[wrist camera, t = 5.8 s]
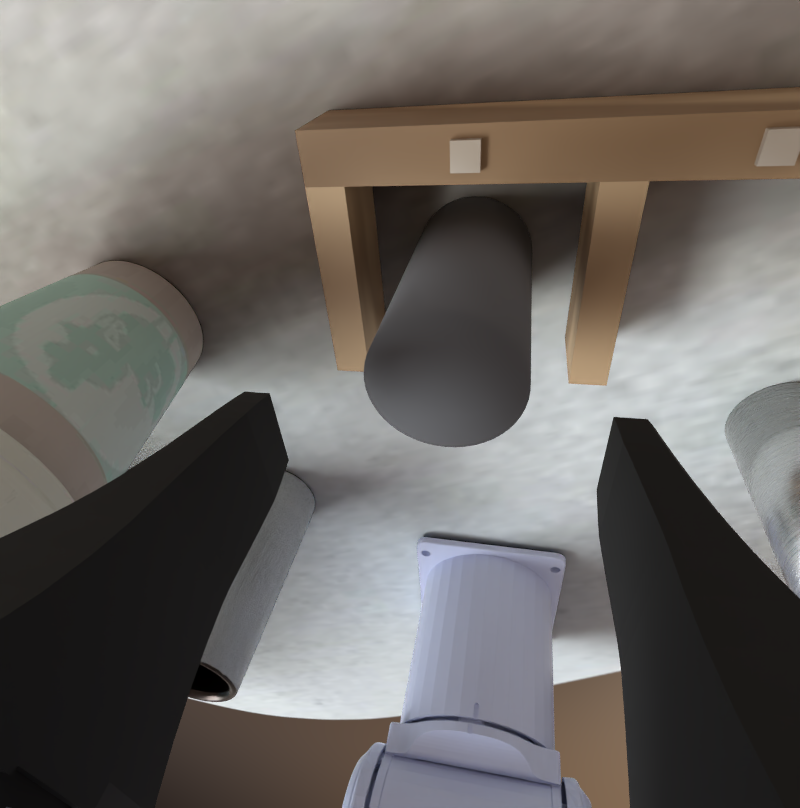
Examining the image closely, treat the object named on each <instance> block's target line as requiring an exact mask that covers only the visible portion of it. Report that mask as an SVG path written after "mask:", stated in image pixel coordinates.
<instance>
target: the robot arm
mask: <svg viewBox="0 0 800 808" xmlns="http://www.w3.org/2000/svg"><path fill="white" fill-rule="evenodd" d="M287 464H288V456H287V453H286V449H285V446H284V442H283V439H282V435H281V432H280V428H279V425H278V421H277V418H276V414H275V411H274V407H273V404H272V400H271V397H270V393H255V392H243V393H242V394H240V395H239V396H237V397H235V398H234V399H232V400H231V401H229V402H228V403H226V404H225V405H223V406H222V407H221V408H219V409H218V410H216V411H215V412H213V413H212V414H211V415H209V416H208V417H206V418H205V419H204V420H202V421H201V422H199V423H198V424H197V425H195V426H194V427H192V428H191V429H189V430H188V431H187V432H185V433H184V434H182V435H181V436H179V437H178V438H177V439H175V440H174V441H172V442H171V443H169V444H168V445H167V446H165V447H164V448H162V449H161V450H159V451H157V452H156V453H154V454H153V455H151V456H150V457H148V458H147V459H145V460H144V461H142V462H141V463H139V464H137V465H136V466H134V467H133V468H131V469H130V470H128V471H127V472H125V473H124V474H122V475H120V476H119V477H117V478H115V479H114V480H112V481H110V482H109V483H107V484H105V485H104V486H102V487H100V488H98V489H97V490H95V491H93V492H91V493H90V494H88V495H86V496H84V497H82V498H80V499H79V500H77V501H75V502H73V503H71V504H69V505H68V506H66V507H64V508H62V509H60V510H58V511H56V512H54V513H52V514H50V515H47V516H45V517H43V518H41V519H39V520H37V521H35V522H33V523H31V524H29V525H27V526H24V527H22V528H20V529H18V530H16V531H14V532H12V533H10V534H8V535H6V536H3V537H1V538H0V808H155V804H156V800H157V796H158V793H159V789H160V786H161V783H162V779H163V776H164V772H165V769H166V765H167V762H168V759H169V755H170V752H171V748H172V744H173V741H174V738H175V735H176V732H177V729H178V726H179V723H180V720H181V717H182V714H183V711H184V707H185V705H186V701H187V698H188V695H189V692H190V689H191V687H192V684H193V681H194V678H195V675H196V673H197V670H198V667H199V664H200V662H201V659H202V656H203V653H204V650H205V648H206V645H207V642H208V640H209V637H210V635H211V632H212V630H213V627H214V625H215V622H216V619H217V617H218V614H219V612H220V609H221V607H222V604H223V602H224V600H225V598H226V595H227V593H228V591H229V589H230V587H231V585H232V583H233V581H234V579H235V577H236V575H237V573H238V571H239V569H240V567H241V565H242V563H243V561H244V560H245V558H246V556H247V554H248V552H249V550H250V548H251V546H252V544H253V542H254V540H255V538H256V536H257V534H258V532H259V530H260V529H261V527H262V525H263V523H264V521H265V519H266V517H267V515H268V513H269V511H270V509H271V507H272V505H273V503H274V500H275V498H276V495H277V493H278V490H279V487H280V484H281V482H282V479H283V476H284V473H285V470H286V467H287ZM597 507H598V527H599V539H600V545H601V551H602V557H603V563H604V569H605V574H606V580H607V586H608V591H609V597H610V602H611V608H612V614H613V619H614V625H615V631H616V636H617V642H618V649H619V657H620V664H621V673H622V687H623V701H624V714H625V728H626V743H627V760H628V776H629V795H630V808H800V598H799V597H798V596H797V595H796V594H795V593H794V592H793V591H792V590H791V589H790V588H789V587H788V586H787V585H785V584H784V583H783V582H782V581H781V580H780V579H779V578H778V577H777V576H776V575H775V574H774V573H773V572H772V571H771V570H770V569H769V568H768V567H767V566H766V565H765V564H764V563H763V561H762V560H761V559H760V558H759V557H758V556H757V555H756V554H755V553H754V552H753V551H752V550H751V549H750V548H749V546H748V545H747V544H746V543H745V542H744V541H743V540H742V539H741V538H740V536H739V535H738V534H737V533H736V532H735V531H734V530H733V529H732V528H731V526H730V525H729V524H728V523H727V522H726V520H725V519H724V518H723V517H722V516H721V515H720V513H719V512H718V511H717V510H716V509H715V507H714V506H713V505H712V504H711V502H710V501H709V500H708V499H707V497H706V496H705V495H704V494H703V493H702V491H701V490H700V489H699V488H698V486H697V485H696V484H695V483H694V481H693V480H692V479H691V477H690V476H689V475H688V473H687V472H686V471H685V469H684V468H683V467H682V465H681V464H680V463H679V461H678V460H677V459H676V457H675V456H674V455H673V453H672V452H671V450H670V449H669V448H668V446H667V445H666V443H665V442H664V441H663V439H662V438H661V436H660V435H659V434H658V432H657V431H656V429H655V428H654V426H653V425H652V424H651V423H650V422H649V420H648V419H635V418H620V417H614V418H613V422H612V426H611V431H610V435H609V439H608V444H607V448H606V452H605V457H604V461H603V465H602V469H601V474H600V478H599V482H598V487H597ZM417 553H418V565H419V576H420V588H421V599H422V608H421V613H420V619H419V624H418V630H417V635H416V640H415V646H414V651H413V657H412V662H411V667H410V673H409V678H408V684H407V689H406V694H405V700H404V705H403V711H402V716H401V721H400V723H396V722H392V723H391V724H390V729H389V734H388V739H387V744H384V743H381V742H378V743H375V744H374V745H372V746H371V747H370V749H369V750H368V751H367V752H366V753H365V754H364V755H363V756H362V757H361V758H360V759H359V761H358V763H357V764H356V766H355V768H354V771H353V773H352V776H351V779H350V781H349V785H348V788H347V791H346V795H345V798H344V802H343V806H342V808H592V807H591V803H590V800H589V799H588V797H587V796H586V794H585V793H584V792H583V790H582V789H580V787H579V783H578V782H577V781H576V779H574V778H565V777H562V782H561V773H560V753H559V752H558V751H556V750H555V745H554V744H555V741H554V697H553V654H552V630H553V625H554V620H555V615H556V611H557V606H558V601H559V596H560V591H561V586H562V581H563V577H564V572H565V567H566V559H565V557H564V556H563V555H561V554H559V553H553V552H545V551H536V550H528V549H520V548H512V547H503V546H495V545H487V544H478V543H470V542H462V541H454V540H445V539H437V538H429V537H422V538H420V539H419V540H418V543H417Z"/></svg>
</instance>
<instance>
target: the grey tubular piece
mask: <svg viewBox="0 0 800 808" xmlns="http://www.w3.org/2000/svg"><path fill="white" fill-rule="evenodd" d="M314 508H315V499H314V496H313V494H312V492H311V491H310V489H309V488H308V487H307V485H306V484H305V483H304V482H302V481H301V480H300V479H299V478H297V477H296V476H294V475H292V474H290V473H288V472H286V471H285V473H284V476H283V479H282V482H281V484H280V487H279V490H278V493H277V495H276V498H275V500H274V503H273V505H272V507H271V509H270V511H269V513H268V515H267V517H266V519H265V521H264V523H263V525H262V527H261V529H260V530H259V532H258V534H257V536H256V538H255V540H254V542H253V544H252V546H251V548H250V550H249V552H248V554H247V556H246V558H245V560H244V561H243V563H242V565H241V567H240V569H239V571H238V573H237V575H236V577H235V579H234V581H233V583H232V585H231V587H230V589H229V591H228V593H227V595H226V598H225V600H224V602H223V604H222V607H221V609H220V612H219V614H218V617H217V619H216V622H215V625H214V627H213V630H212V632H211V635H210V637H209V640H208V642H207V645H206V648H205V650H204V653H203V656H202V659H201V662H200V664H199V667H198V670H197V673H196V675H195V678H194V681H193V684H192V687H191V689H190V692H189V695H188V697H190V698H194V699H198V700H203V701H210V702H223V701H227V700H230V699H232V698H233V697H235V695H236V694H237V692H238V690H239V688H240V685H241V683H242V680H243V678H244V676H245V673H246V671H247V669H248V666H249V664H250V662H251V659H252V657H253V654H254V652H255V650H256V647H257V645H258V643H259V640H260V638H261V635H262V633H263V631H264V628H265V626H266V624H267V621H268V619H269V617H270V614H271V612H272V609H273V607H274V605H275V602H276V600H277V598H278V595H279V593H280V590H281V588H282V586H283V583H284V581H285V579H286V576H287V574H288V572H289V569H290V567H291V564H292V562H293V560H294V557H295V555H296V553H297V550H298V548H299V545H300V543H301V541H302V538H303V536H304V534H305V531H306V529H307V527H308V524H309V522H310V519H311V517H312V514H313V511H314Z"/></svg>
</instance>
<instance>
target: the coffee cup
mask: <svg viewBox="0 0 800 808" xmlns="http://www.w3.org/2000/svg"><path fill="white" fill-rule="evenodd" d="M202 348H203V335H202V330H201V326H200V323H199V321H198V318H197V316H196V314H195V312H194V311H193V309H192V307H191V306H190V304H189V303H188V301H187V300H186V299H185V298H184V297H183V295H182V294H181V293H180V292H179V291H178V290H177V289H176V288H175V287H174V286H173V285H171V284H170V283H169V282H168V281H167V280H165V279H164V278H162V277H161V276H160V275H158V274H156V273H155V272H153V271H151V270H149V269H147V268H145V267H143V266H140V265H137V264H134V263H130V262H125V261H107V262H103V263H100V264H97V265H95V266H93V267H90V268H88V269H86V270H83V271H81V272H79V273H76V274H74V275H71V276H69V277H67V278H64V279H62V280H60V281H57V282H55V283H53V284H50V285H48V286H46V287H43V288H41V289H39V290H37V291H34V292H32V293H30V294H27V295H25V296H23V297H20V298H18V299H16V300H14V301H11V302H9V303H7V304H4V305H2V306H0V538H1V537H3V536H6V535H8V534H10V533H12V532H14V531H16V530H18V529H20V528H22V527H24V526H27V525H29V524H31V523H33V522H35V521H37V520H39V519H41V518H43V517H45V516H47V515H50V514H52V513H54V512H56V511H58V510H60V509H62V508H64V507H66V506H68V505H69V504H71V503H73V502H75V501H77V500H79V499H80V498H82V497H84V496H86V495H88V494H90V493H91V492H93V491H95V490H97V489H98V488H100V487H102V486H104V485H105V484H107V483H109V482H110V481H112V480H114V479H115V478H117V477H119V476H120V475H122V474H124V473H125V472H126V471H127V470H128V468H129V466H130V465H131V463H132V462H133V460H134V459H135V457H136V456H137V454H138V453H139V451H140V449H141V448H142V446H143V445H144V443H145V442H146V440H147V439H148V437H149V436H150V434H151V433H152V431H153V429H154V428H155V426H156V425H157V423H158V422H159V420H160V419H161V417H162V416H163V414H164V412H165V411H166V409H167V408H168V406H169V405H170V403H171V402H172V400H173V399H174V397H175V396H176V394H177V392H178V391H179V389H180V388H181V386H182V385H183V383H184V381H185V380H186V378H187V377H188V375H189V374H190V372H191V370H192V369H193V367H194V366H195V364H196V363H197V361H198V359H199V358H200V356H201V353H202Z"/></svg>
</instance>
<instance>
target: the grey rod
mask: <svg viewBox="0 0 800 808" xmlns="http://www.w3.org/2000/svg"><path fill="white" fill-rule="evenodd" d="M725 436H726V439H727V441H728V444H729V446H730V449H731V451H732V453H733V456H734V458H735V461H736V463H737V465H738V468H739V470H740V473H741V475H742V477H743V480H744V482H745V485H746V487H747V489H748V492H749V494H750V497H751V499H752V501H753V504H754V506H755V509H756V511H757V513H758V516H759V518H760V521H761V523H762V525H763V528H764V530H765V533H766V535H767V537H768V540H769V542H770V545H771V547H772V549H773V552H774V554H775V557H776V559H777V561H778V564H779V566H780V569H781V571H782V573H783V576H784V578H785V581H786V583H787V585H788V587H789V588H790V589H791V590H792V591H793V592H794V593H795V594H796V595H797V596H798V597H799V598H800V382H790V383H783V384H778V385H774V386H770V387H767V388H765V389H762V390H760V391H758V392H755V393H754V394H752V395H750V396H748V397H747V398H745V399H744V400H743V401H741V402H740V403H739V404H738V405H737V406H736V407H735V408H734V409H733V410H732V412H731V413H730V415H729V417H728V419H727V421H726V424H725Z"/></svg>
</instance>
